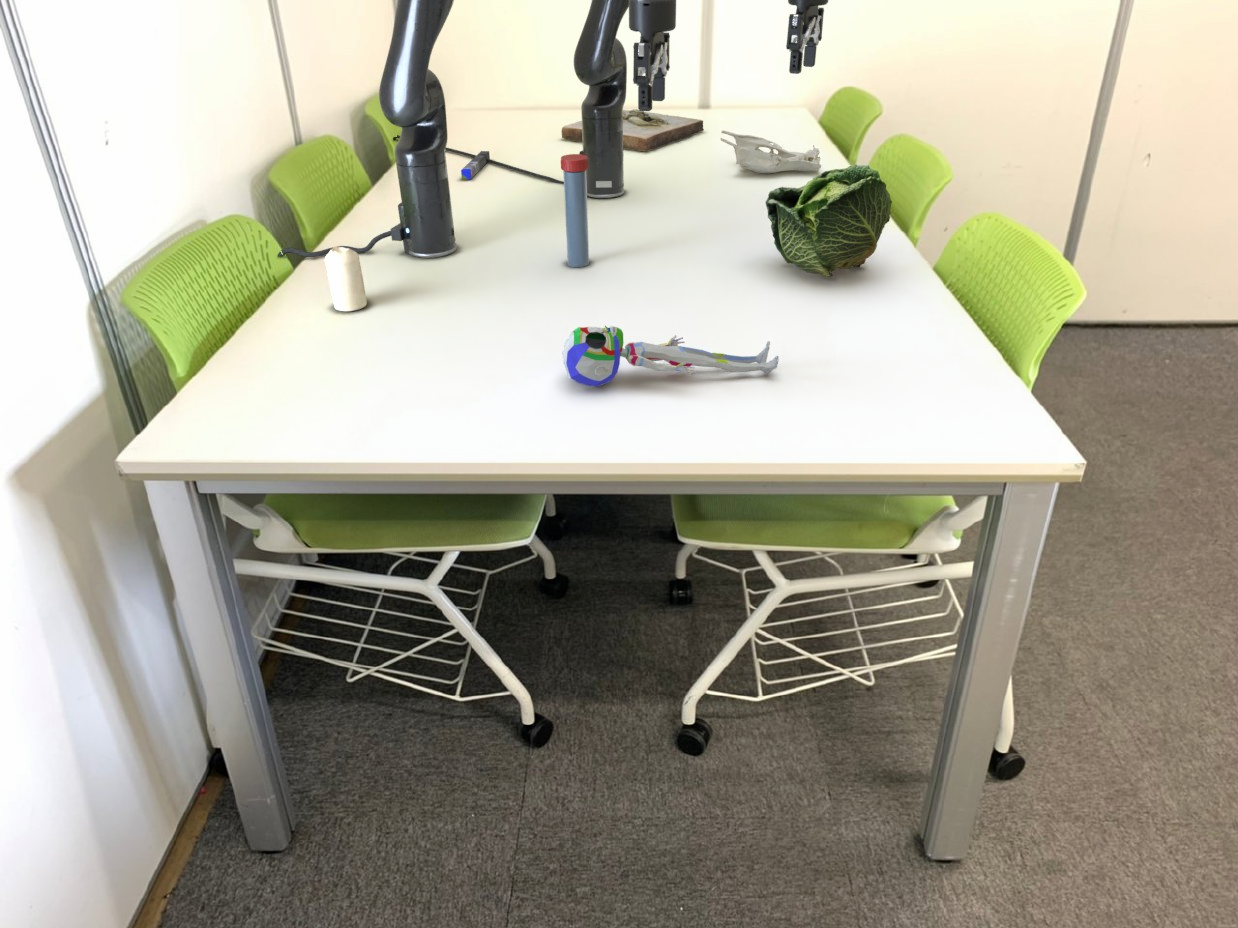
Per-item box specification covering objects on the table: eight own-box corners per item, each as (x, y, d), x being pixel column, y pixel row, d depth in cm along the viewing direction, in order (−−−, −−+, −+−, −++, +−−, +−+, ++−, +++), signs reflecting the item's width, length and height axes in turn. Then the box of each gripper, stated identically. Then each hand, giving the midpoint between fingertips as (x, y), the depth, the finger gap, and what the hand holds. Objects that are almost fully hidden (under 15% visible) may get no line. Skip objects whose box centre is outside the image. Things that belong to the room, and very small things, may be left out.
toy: (785, 354, 123) (568, 337, 118) (772, 408, 127) (562, 393, 123) (768, 325, 132) (564, 307, 127) (755, 376, 136) (559, 361, 131)
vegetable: (790, 294, 172) (743, 202, 165) (870, 239, 174) (827, 145, 166) (841, 308, 154) (791, 205, 146) (931, 246, 155) (886, 140, 148)
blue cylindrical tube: (566, 267, 168) (561, 162, 157) (568, 260, 171) (564, 157, 161) (588, 267, 167) (584, 162, 157) (590, 260, 171) (586, 157, 161)
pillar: (489, 151, 236) (469, 170, 219) (489, 159, 237) (470, 179, 220) (481, 151, 236) (460, 170, 220) (481, 159, 237) (461, 179, 221)
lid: (559, 172, 158) (558, 160, 157) (562, 165, 162) (562, 154, 161) (586, 172, 158) (586, 160, 157) (589, 165, 162) (589, 154, 161)
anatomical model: (722, 127, 227) (822, 125, 223) (721, 164, 232) (819, 163, 228) (719, 141, 215) (824, 139, 211) (718, 179, 220) (821, 179, 216)
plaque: (647, 125, 237) (559, 112, 252) (647, 153, 241) (560, 139, 256) (706, 107, 258) (622, 97, 273) (705, 133, 262) (622, 121, 277)
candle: (373, 301, 154) (363, 244, 149) (355, 313, 150) (344, 255, 145) (346, 297, 156) (335, 241, 150) (327, 309, 151) (316, 252, 146)
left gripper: (641, -8, 148) (641, 97, 157) (616, 1, 136) (618, 113, 145) (685, -7, 146) (683, 98, 155) (664, 2, 135) (663, 115, 143)
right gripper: (802, -27, 174) (795, 63, 182) (778, -22, 163) (771, 74, 172) (840, -26, 171) (831, 66, 179) (818, -21, 160) (809, 77, 169)
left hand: (651, 105), depth 150 cm, fingers open, 8 cm apart
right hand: (802, 70), depth 176 cm, fingers open, 8 cm apart
